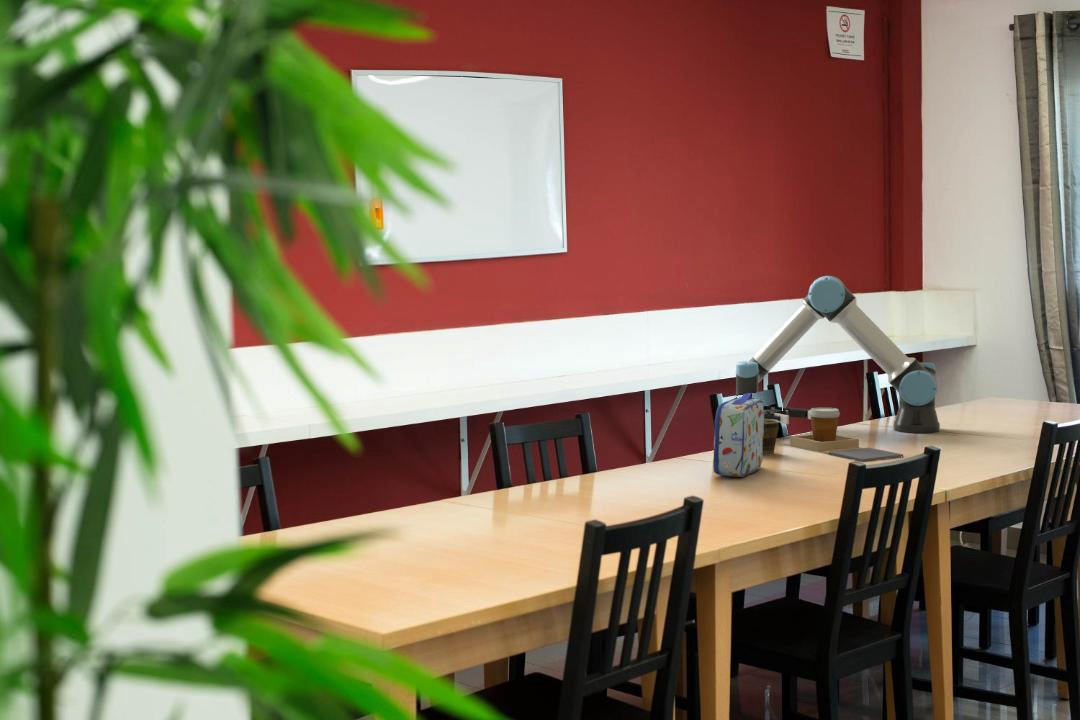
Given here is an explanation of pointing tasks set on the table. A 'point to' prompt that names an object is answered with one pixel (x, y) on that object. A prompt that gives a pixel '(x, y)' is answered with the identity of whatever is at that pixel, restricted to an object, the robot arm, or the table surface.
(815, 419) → the disposable coffee cup
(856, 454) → the charcoal mat
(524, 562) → the table surface
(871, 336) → the robot arm
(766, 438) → the ceramic cup
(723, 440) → the lunch box
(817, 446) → the tan shallow tray
